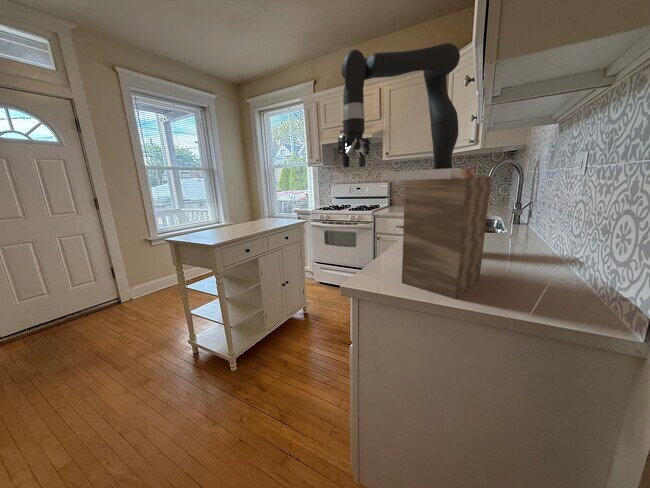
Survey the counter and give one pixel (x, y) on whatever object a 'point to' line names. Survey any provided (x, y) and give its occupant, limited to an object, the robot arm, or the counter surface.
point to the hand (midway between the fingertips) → (354, 167)
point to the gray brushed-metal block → (422, 174)
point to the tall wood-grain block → (444, 232)
